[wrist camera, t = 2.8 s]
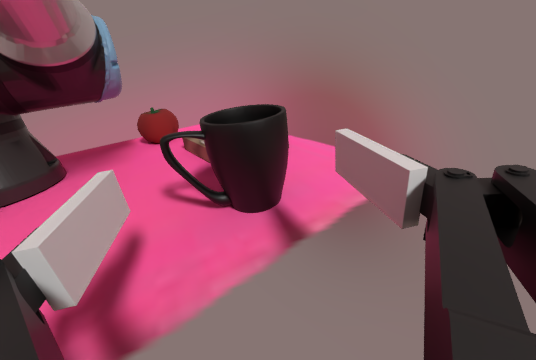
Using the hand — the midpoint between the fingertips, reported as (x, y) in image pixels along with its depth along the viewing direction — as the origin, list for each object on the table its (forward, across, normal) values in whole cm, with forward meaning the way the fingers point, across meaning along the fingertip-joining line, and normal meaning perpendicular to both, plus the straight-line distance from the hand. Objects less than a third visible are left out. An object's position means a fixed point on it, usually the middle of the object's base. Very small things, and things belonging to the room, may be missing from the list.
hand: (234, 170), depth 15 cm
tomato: (+44, -14, -8) cm, 47 cm away
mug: (+10, 0, -8) cm, 13 cm away
